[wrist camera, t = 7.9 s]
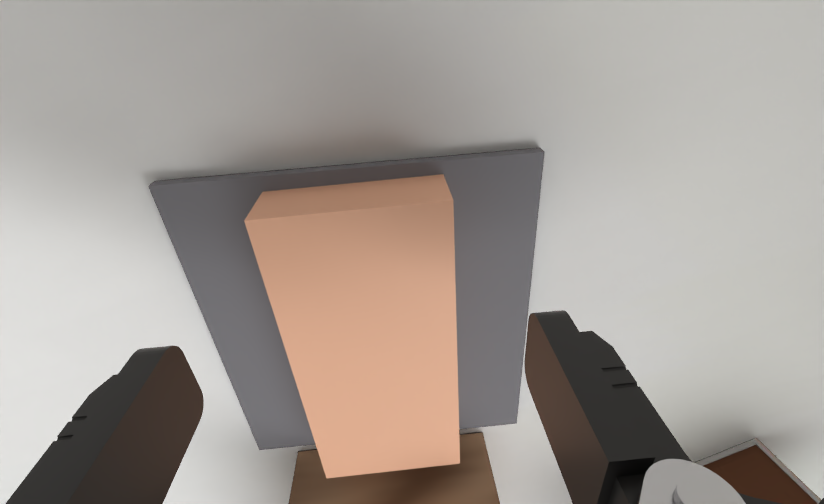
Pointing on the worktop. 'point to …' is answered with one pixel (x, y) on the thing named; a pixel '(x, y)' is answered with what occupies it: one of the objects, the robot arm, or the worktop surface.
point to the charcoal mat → (474, 276)
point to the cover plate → (367, 317)
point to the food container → (759, 474)
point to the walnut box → (401, 481)
